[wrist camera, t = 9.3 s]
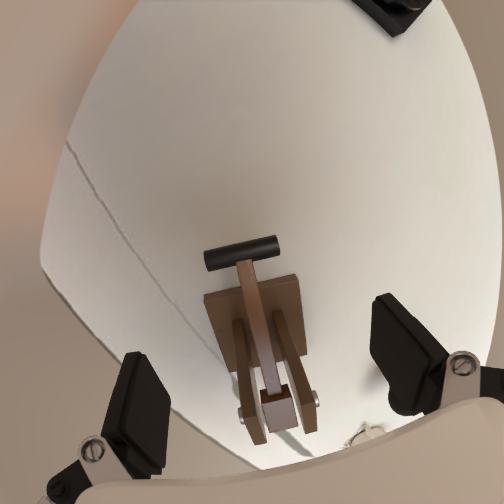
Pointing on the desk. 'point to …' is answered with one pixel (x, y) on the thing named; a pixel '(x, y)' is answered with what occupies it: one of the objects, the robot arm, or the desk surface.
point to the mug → (367, 435)
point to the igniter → (393, 13)
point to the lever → (258, 324)
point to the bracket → (282, 340)
